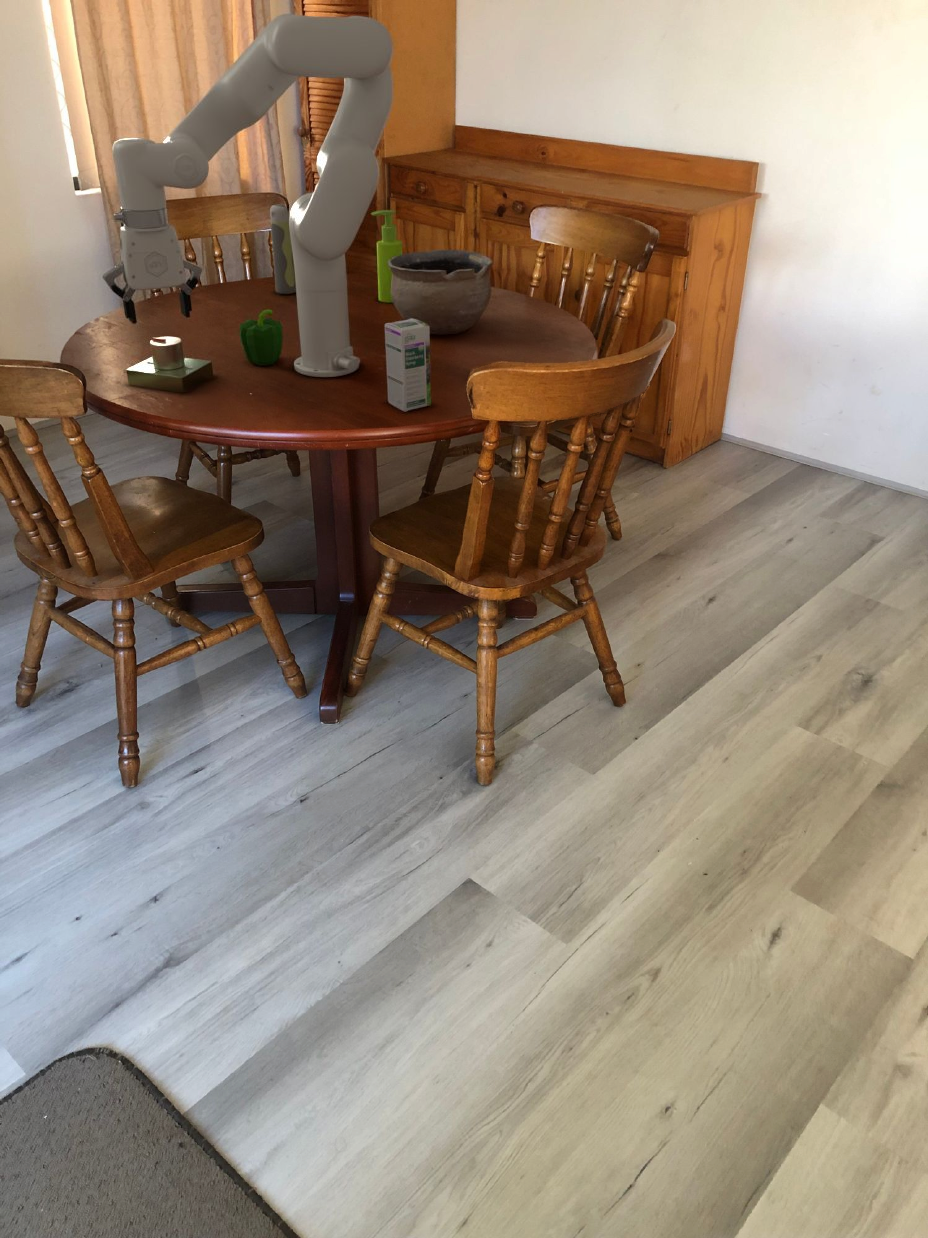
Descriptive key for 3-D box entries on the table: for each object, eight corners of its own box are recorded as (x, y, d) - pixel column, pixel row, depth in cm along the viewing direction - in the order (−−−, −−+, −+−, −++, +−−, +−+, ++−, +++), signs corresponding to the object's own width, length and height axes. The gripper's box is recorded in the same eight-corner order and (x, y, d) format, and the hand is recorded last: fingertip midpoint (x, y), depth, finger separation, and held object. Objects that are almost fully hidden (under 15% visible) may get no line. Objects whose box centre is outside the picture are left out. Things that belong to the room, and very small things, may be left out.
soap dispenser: (371, 297, 233) (367, 209, 222) (397, 295, 236) (395, 207, 225) (379, 304, 229) (376, 213, 218) (406, 301, 231) (405, 211, 220)
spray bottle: (271, 292, 236) (263, 204, 226) (286, 288, 240) (278, 201, 229) (285, 295, 234) (278, 207, 223) (300, 291, 237) (293, 204, 226)
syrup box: (404, 412, 170) (402, 329, 162) (386, 402, 174) (384, 321, 166) (431, 406, 173) (430, 324, 165) (413, 396, 177) (411, 316, 169)
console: (213, 376, 185) (211, 360, 183) (184, 393, 177) (181, 376, 175) (160, 368, 188) (157, 352, 187) (128, 385, 180) (125, 368, 179)
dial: (190, 362, 182) (186, 336, 180) (173, 371, 178) (169, 345, 175) (165, 358, 184) (161, 333, 181) (147, 367, 180) (143, 341, 177)
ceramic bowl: (430, 351, 199) (430, 276, 191) (370, 326, 213) (367, 255, 205) (511, 332, 211) (513, 260, 203) (448, 310, 225) (449, 242, 217)
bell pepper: (245, 370, 188) (239, 318, 183) (240, 357, 195) (235, 307, 189) (288, 367, 190) (283, 315, 185) (282, 354, 197) (278, 304, 191)
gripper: (99, 226, 160) (116, 329, 170) (201, 218, 168) (212, 318, 177) (89, 218, 166) (106, 318, 175) (188, 211, 173) (200, 308, 183)
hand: (159, 318), depth 176 cm, fingers open, 9 cm apart
